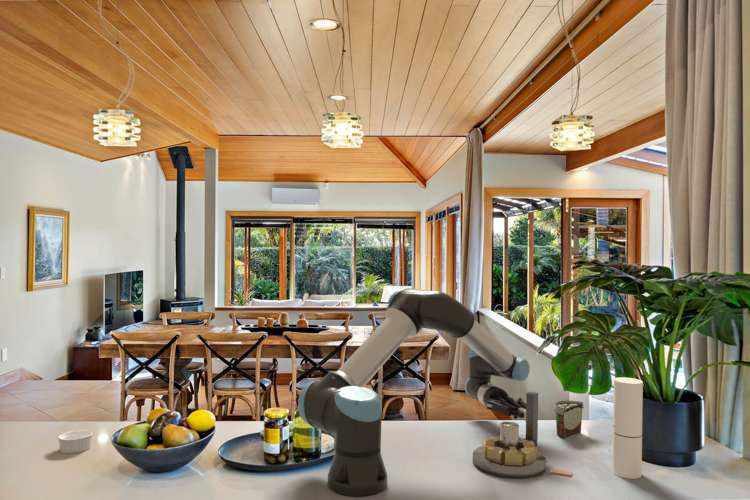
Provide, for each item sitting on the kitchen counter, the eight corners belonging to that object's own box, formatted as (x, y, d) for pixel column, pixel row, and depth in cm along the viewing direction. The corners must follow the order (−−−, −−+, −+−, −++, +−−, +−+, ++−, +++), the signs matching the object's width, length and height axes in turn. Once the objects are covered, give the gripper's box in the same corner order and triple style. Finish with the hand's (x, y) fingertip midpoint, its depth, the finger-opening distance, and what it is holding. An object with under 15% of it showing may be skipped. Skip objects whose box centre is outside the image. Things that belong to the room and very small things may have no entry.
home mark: (551, 473, 150) (551, 471, 150) (552, 469, 153) (552, 468, 153) (570, 476, 148) (570, 475, 148) (571, 473, 150) (571, 471, 150)
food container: (566, 427, 189) (566, 397, 189) (583, 432, 184) (583, 401, 184) (545, 435, 181) (545, 404, 181) (562, 440, 176) (562, 408, 176)
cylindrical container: (635, 468, 154) (637, 377, 154) (645, 479, 147) (647, 384, 147) (608, 467, 155) (610, 376, 155) (617, 477, 148) (618, 383, 147)
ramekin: (55, 448, 165) (55, 433, 165) (89, 441, 170) (89, 427, 170) (60, 457, 158) (60, 442, 158) (95, 450, 163) (95, 435, 163)
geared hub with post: (515, 469, 147) (516, 409, 146) (473, 454, 157) (473, 398, 157) (555, 452, 159) (556, 397, 159) (513, 439, 170) (514, 387, 170)
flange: (492, 482, 144) (493, 439, 144) (461, 453, 164) (461, 416, 163) (561, 474, 149) (561, 433, 149) (523, 448, 169) (523, 411, 169)
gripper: (475, 387, 186) (512, 407, 164) (510, 384, 190) (551, 404, 167) (475, 409, 186) (512, 433, 164) (510, 406, 190) (550, 429, 167)
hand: (531, 418), depth 166 cm, fingers closed
